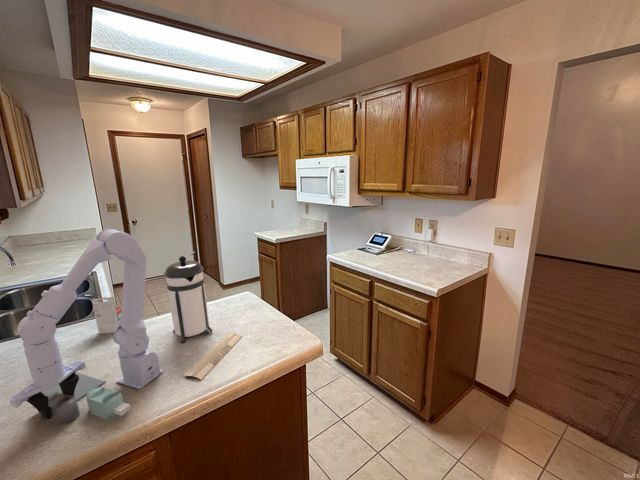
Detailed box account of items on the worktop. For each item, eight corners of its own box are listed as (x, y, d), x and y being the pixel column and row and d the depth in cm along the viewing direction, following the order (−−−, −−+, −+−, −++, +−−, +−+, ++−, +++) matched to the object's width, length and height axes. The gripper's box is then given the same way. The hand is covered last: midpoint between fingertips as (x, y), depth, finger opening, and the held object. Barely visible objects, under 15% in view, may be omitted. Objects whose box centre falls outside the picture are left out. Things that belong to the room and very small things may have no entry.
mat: (105, 382, 86) (105, 381, 86) (66, 408, 77) (66, 406, 77) (74, 372, 91) (73, 371, 91) (33, 395, 82) (33, 394, 82)
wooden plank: (227, 336, 109) (227, 332, 109) (244, 339, 108) (244, 334, 107) (183, 379, 87) (182, 374, 87) (204, 383, 85) (204, 377, 85)
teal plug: (85, 411, 76) (82, 396, 75) (101, 400, 79) (98, 385, 78) (119, 424, 71) (115, 408, 70) (134, 411, 75) (131, 396, 74)
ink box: (104, 329, 116) (96, 294, 112) (125, 328, 116) (119, 293, 113) (98, 334, 112) (90, 298, 109) (120, 333, 113) (113, 297, 110)
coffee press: (222, 322, 118) (214, 250, 111) (199, 345, 103) (188, 263, 96) (183, 320, 121) (172, 249, 114) (155, 342, 106) (141, 261, 99)
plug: (83, 412, 75) (79, 397, 74) (66, 425, 71) (62, 410, 70) (49, 404, 78) (45, 389, 77) (31, 415, 75) (26, 400, 74)
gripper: (68, 343, 79) (79, 387, 82) (-5, 378, 66) (11, 429, 69) (86, 348, 77) (96, 392, 80) (14, 385, 64) (30, 437, 67)
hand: (58, 410), depth 74 cm, fingers closed on plug, 4 cm apart
